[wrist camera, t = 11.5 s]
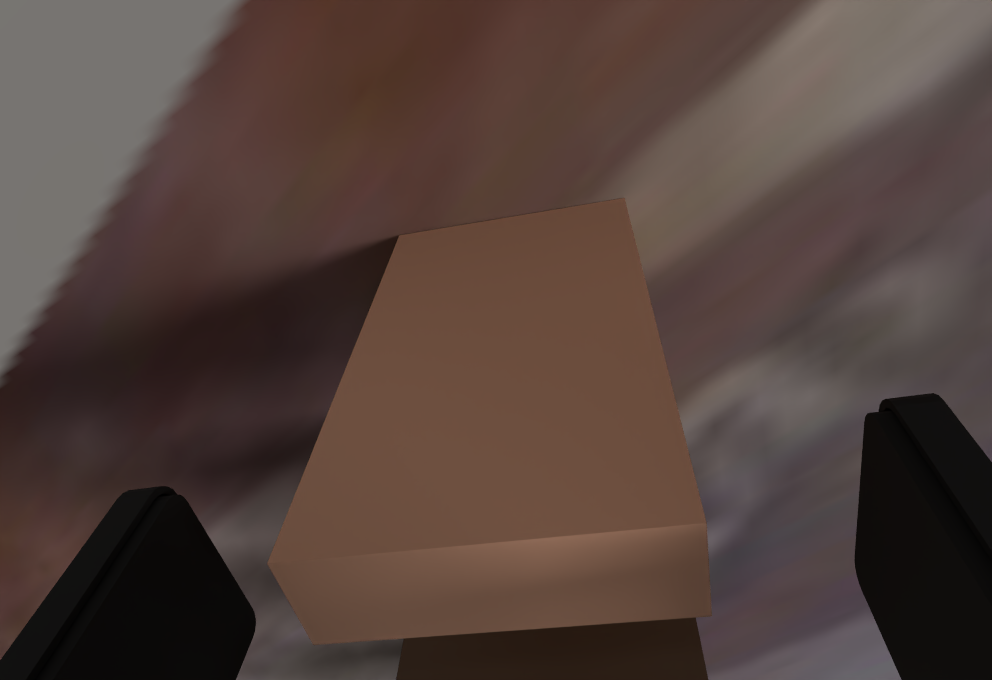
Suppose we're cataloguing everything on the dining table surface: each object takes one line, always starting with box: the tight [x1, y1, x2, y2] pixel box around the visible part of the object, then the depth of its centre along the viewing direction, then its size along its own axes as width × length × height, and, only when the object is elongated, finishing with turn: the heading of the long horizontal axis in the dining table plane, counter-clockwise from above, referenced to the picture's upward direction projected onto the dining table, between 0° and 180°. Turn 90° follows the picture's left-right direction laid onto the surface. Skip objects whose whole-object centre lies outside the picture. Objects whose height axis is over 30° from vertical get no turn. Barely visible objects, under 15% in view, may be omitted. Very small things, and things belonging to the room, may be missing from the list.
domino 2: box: [396, 617, 708, 680], centre depth 14 cm, size 2×5×9 cm, turn 103°
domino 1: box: [267, 198, 712, 645], centre depth 12 cm, size 2×5×9 cm, turn 101°
